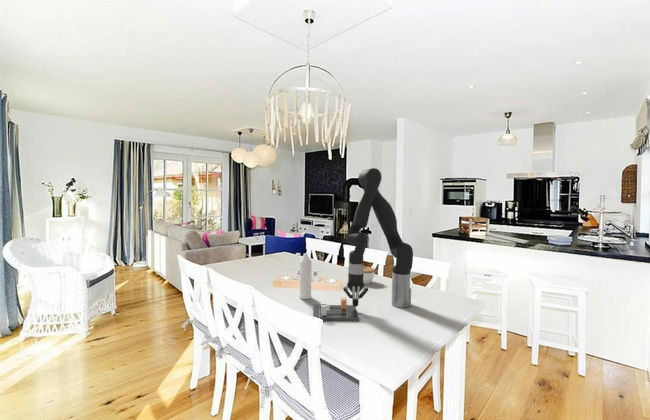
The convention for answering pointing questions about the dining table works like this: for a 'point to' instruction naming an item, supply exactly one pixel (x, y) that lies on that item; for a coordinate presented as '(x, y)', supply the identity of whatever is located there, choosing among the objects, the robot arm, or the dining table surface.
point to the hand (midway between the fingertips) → (355, 306)
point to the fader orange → (343, 302)
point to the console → (336, 313)
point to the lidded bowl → (368, 275)
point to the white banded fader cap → (323, 309)
